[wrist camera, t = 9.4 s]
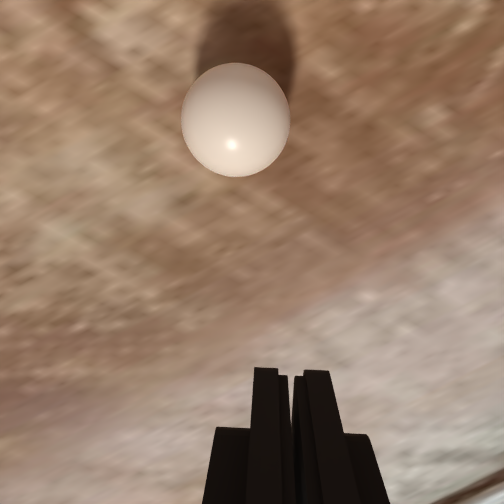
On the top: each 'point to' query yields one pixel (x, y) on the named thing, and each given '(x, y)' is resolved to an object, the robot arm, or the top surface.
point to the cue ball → (235, 119)
